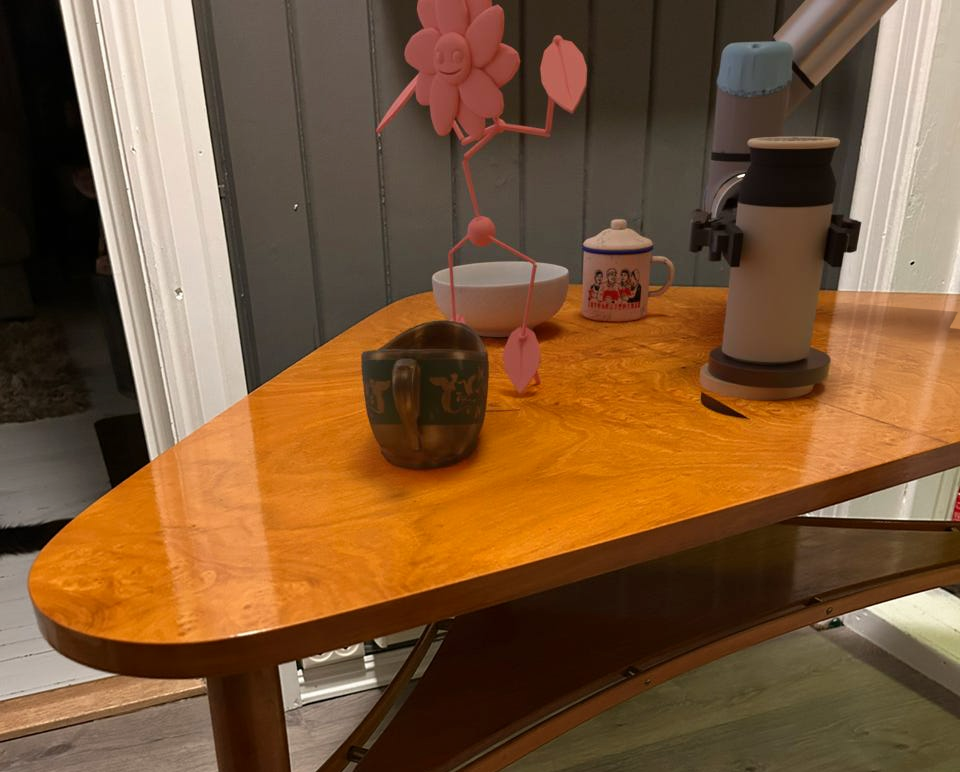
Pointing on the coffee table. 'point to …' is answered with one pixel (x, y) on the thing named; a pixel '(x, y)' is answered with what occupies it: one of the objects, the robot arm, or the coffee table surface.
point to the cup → (427, 394)
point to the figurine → (483, 114)
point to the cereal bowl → (501, 295)
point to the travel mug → (780, 249)
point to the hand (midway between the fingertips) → (787, 250)
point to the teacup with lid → (619, 274)
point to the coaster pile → (759, 379)
